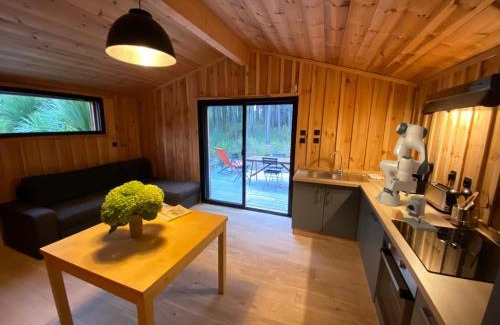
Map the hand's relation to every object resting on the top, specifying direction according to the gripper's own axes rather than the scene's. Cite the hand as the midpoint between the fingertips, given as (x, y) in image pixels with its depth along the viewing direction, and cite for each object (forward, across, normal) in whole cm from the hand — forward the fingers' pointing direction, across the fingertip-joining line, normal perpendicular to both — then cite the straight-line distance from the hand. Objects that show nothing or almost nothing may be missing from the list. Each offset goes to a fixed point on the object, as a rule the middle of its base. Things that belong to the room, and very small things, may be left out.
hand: (400, 196), depth 162 cm
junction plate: (+18, +7, -12) cm, 22 cm away
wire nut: (+18, 0, 0) cm, 18 cm away
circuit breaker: (+18, +18, +3) cm, 25 cm away
